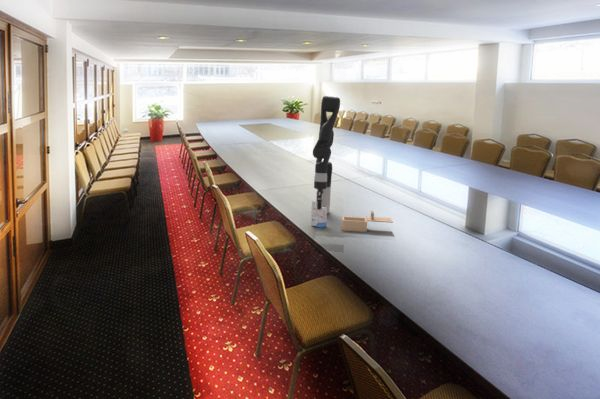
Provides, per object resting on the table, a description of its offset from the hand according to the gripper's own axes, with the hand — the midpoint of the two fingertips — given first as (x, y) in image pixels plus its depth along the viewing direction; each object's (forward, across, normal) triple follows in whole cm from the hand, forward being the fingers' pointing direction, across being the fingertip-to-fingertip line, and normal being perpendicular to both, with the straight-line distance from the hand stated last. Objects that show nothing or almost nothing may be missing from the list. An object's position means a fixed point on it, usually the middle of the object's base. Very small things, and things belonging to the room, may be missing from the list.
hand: (319, 207), depth 239 cm
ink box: (+11, 0, 0) cm, 11 cm away
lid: (+5, -2, -35) cm, 35 cm away
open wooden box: (+11, -2, -21) cm, 24 cm away
